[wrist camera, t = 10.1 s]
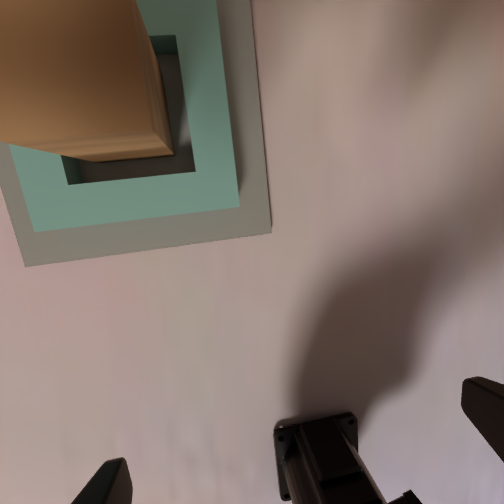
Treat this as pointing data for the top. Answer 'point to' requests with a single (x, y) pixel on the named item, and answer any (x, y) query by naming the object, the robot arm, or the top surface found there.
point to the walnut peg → (81, 81)
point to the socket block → (162, 168)
